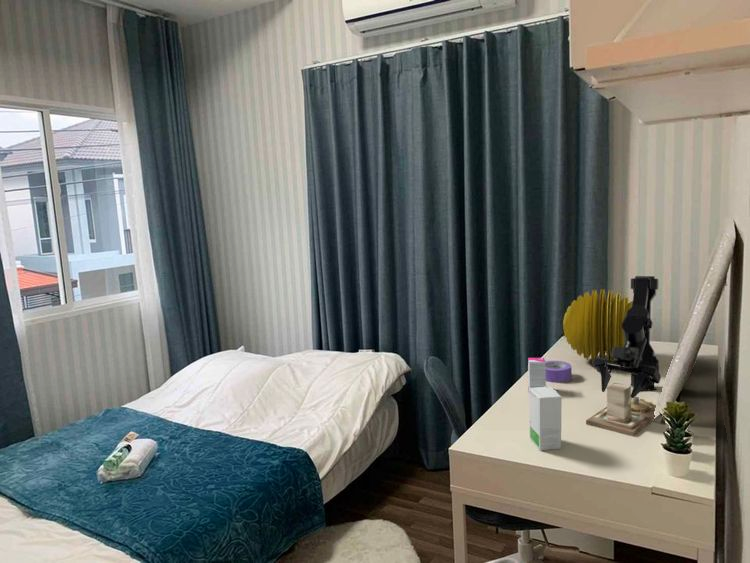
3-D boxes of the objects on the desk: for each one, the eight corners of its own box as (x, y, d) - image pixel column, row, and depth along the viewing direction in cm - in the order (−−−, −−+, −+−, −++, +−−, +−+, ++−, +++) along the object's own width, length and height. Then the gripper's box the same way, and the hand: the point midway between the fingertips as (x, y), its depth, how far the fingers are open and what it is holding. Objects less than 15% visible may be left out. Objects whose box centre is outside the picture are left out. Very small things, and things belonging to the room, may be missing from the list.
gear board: (621, 400, 185) (620, 388, 185) (665, 410, 175) (665, 397, 174) (586, 424, 169) (585, 410, 169) (632, 436, 159) (632, 422, 158)
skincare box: (529, 439, 162) (527, 387, 160) (551, 436, 163) (550, 385, 160) (540, 451, 154) (538, 397, 152) (563, 449, 154) (562, 395, 152)
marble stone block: (613, 412, 174) (612, 381, 172) (635, 417, 168) (635, 385, 167) (602, 419, 169) (602, 387, 168) (625, 424, 164) (625, 392, 162)
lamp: (643, 376, 206) (643, 296, 202) (559, 371, 220) (557, 295, 215) (644, 354, 233) (644, 282, 229) (568, 350, 246) (567, 282, 242)
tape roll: (567, 384, 205) (567, 371, 204) (535, 380, 211) (535, 368, 210) (574, 374, 215) (574, 362, 214) (543, 371, 221) (543, 359, 220)
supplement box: (546, 393, 197) (545, 361, 195) (529, 393, 198) (528, 362, 197) (545, 387, 203) (544, 357, 201) (528, 387, 204) (527, 357, 202)
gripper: (594, 332, 175) (577, 375, 169) (657, 340, 161) (641, 387, 155) (606, 350, 181) (590, 392, 175) (667, 359, 167) (652, 406, 162)
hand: (617, 394), depth 167 cm, fingers open, 8 cm apart
